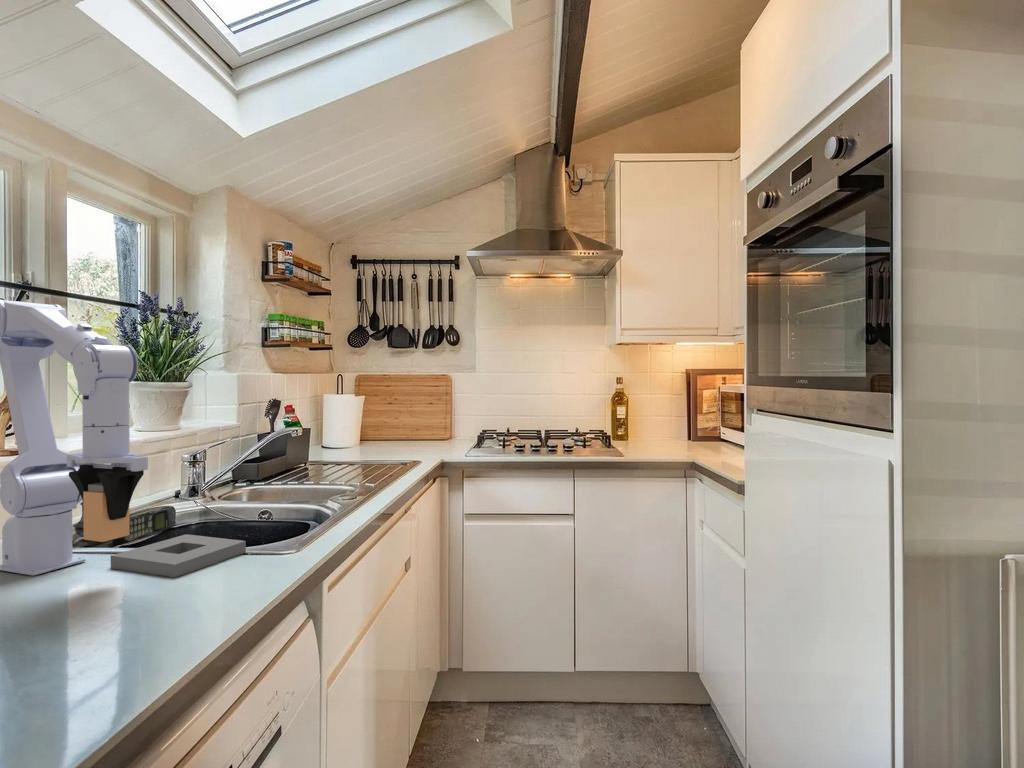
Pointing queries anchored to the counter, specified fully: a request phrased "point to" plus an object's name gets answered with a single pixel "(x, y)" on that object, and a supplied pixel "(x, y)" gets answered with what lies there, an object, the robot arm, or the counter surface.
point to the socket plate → (178, 555)
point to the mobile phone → (148, 523)
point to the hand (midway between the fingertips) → (106, 517)
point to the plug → (101, 517)
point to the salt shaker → (80, 532)
